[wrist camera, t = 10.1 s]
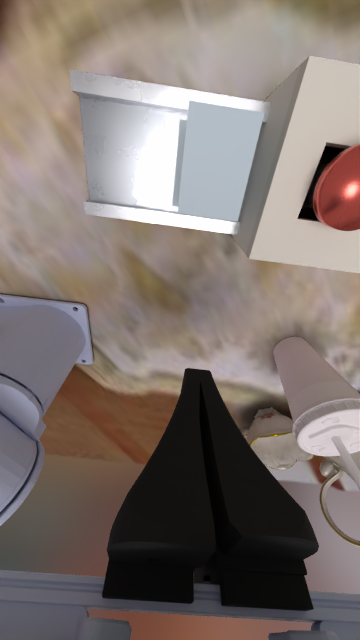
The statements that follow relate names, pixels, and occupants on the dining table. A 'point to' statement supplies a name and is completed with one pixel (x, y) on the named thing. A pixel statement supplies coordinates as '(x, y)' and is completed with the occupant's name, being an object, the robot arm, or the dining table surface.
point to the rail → (140, 147)
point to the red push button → (337, 191)
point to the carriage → (214, 159)
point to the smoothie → (319, 403)
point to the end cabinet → (301, 168)
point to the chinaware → (293, 455)
